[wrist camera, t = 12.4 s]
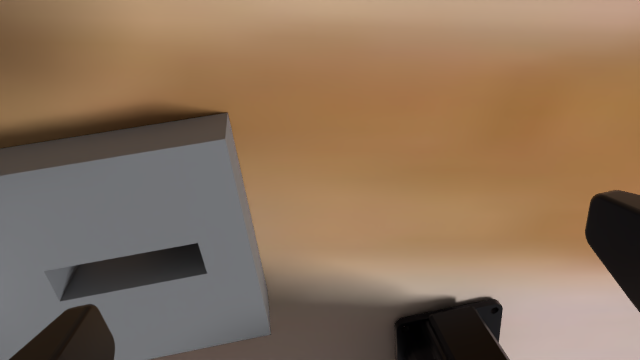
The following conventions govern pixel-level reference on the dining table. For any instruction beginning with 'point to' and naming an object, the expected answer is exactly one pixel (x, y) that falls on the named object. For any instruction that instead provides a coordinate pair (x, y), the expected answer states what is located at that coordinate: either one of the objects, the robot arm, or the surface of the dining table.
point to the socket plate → (132, 238)
